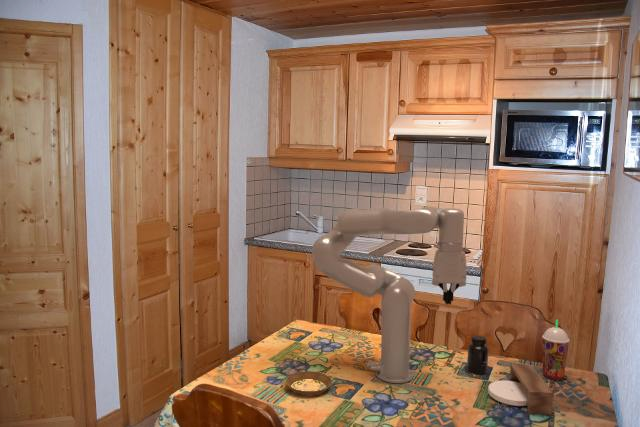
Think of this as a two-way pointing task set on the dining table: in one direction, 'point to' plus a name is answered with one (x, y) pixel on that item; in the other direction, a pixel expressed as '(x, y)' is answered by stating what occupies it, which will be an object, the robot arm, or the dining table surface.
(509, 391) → the plastic lid
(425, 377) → the dining table surface
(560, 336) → the smoothie
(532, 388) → the walnut bridge
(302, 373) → the plant saucer
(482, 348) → the supplement bottle
